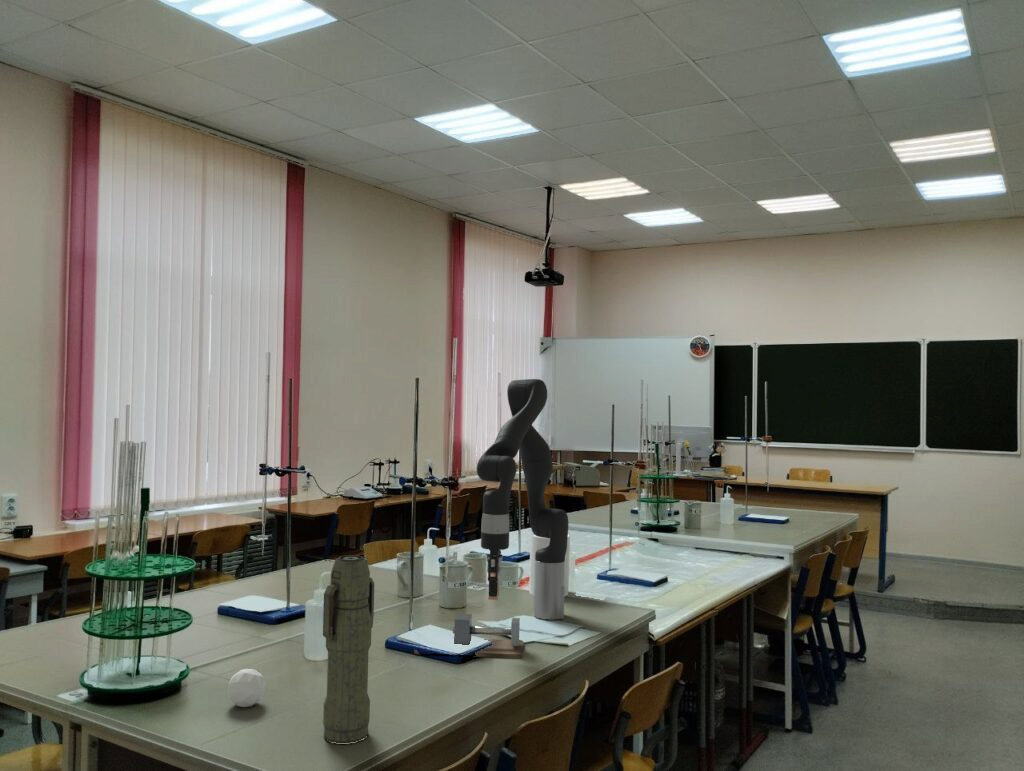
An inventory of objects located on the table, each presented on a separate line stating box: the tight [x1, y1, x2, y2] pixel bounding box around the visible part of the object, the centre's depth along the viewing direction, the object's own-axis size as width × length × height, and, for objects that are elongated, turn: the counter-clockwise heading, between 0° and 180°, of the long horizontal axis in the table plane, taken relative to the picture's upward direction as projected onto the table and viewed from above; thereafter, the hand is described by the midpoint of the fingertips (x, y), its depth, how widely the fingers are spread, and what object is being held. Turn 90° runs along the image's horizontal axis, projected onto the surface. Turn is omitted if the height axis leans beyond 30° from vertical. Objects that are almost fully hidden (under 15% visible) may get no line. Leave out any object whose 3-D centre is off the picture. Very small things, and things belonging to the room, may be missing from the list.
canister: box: [528, 532, 570, 597], centre depth 279 cm, size 14×14×20 cm
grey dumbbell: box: [452, 617, 521, 646], centre depth 214 cm, size 18×5×6 cm, turn 87°
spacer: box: [488, 574, 500, 601], centre depth 214 cm, size 2×6×6 cm, turn 177°
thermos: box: [322, 554, 375, 743], centre depth 159 cm, size 9×12×35 cm
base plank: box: [413, 638, 524, 659], centre depth 214 cm, size 28×12×1 cm, turn 87°
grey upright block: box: [453, 613, 473, 645], centre depth 215 cm, size 4×6×8 cm, turn 177°
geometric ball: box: [227, 668, 266, 708], centre depth 173 cm, size 8×8×8 cm
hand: (493, 593), depth 214 cm, fingers closed on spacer, 6 cm apart
